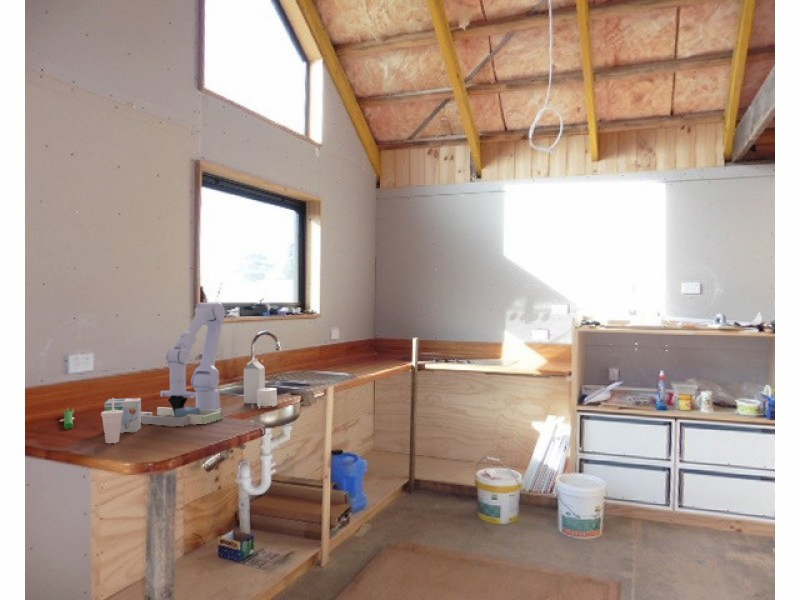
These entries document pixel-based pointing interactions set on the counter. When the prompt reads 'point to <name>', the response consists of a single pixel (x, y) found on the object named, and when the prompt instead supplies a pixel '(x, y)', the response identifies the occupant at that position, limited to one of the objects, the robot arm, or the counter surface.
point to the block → (186, 411)
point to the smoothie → (112, 424)
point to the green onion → (68, 419)
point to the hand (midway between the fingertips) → (178, 416)
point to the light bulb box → (127, 413)
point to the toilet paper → (267, 397)
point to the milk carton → (253, 380)
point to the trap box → (167, 418)
